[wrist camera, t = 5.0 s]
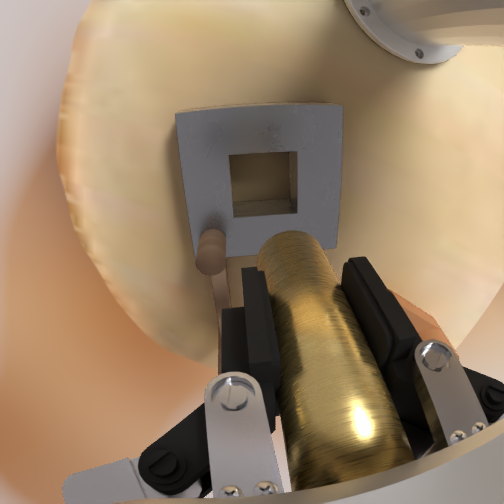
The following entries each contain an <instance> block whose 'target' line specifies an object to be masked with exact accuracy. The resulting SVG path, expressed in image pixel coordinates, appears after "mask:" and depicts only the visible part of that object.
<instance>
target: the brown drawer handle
mask: <svg viewBox="0 0 504 504" xmlns="http://www.w3.org/2000/svg"><path fill="white" fill-rule="evenodd" d="M196 267H197V269H198V270H199V271H200V272H201V273H203V274H205V275H210V276H211V281H212V287H213V293H214V299H215V305H216V311H217V317H218V323H219V343H218V375H220V374H221V314H222V309H225V308H231V301H230V293H229V285H228V276H227V268H226V238H225V235H224V234H223V233H222V232H221V231H219V230H217V229H208V230H206V231H204V232H203V233H202V234H201V235H200V238H199V243H198V250H197V256H196Z"/></svg>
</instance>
